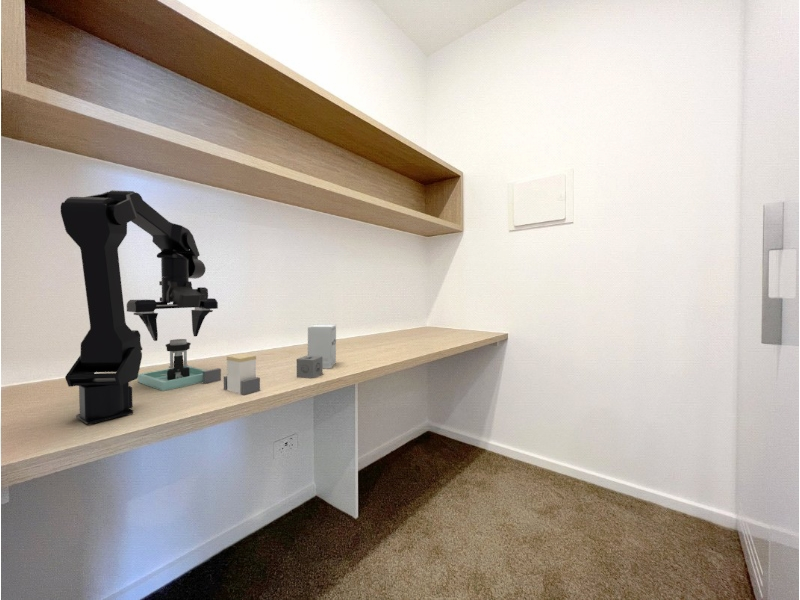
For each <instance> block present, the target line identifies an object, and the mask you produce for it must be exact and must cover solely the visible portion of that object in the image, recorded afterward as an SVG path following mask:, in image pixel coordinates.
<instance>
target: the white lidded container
mask: <svg viewBox="0 0 800 600" xmlns="http://www.w3.org/2000/svg"><path fill="white" fill-rule="evenodd" d="M256 360H257V356H256V355H253V354H248V353H237V354H233V355H227V356H226V376H227V390H226V391H228V392H230V393H234V394H237V395H238V394H239V395H242V394H241V381H243V380H247V379H251V378H256V377H257V362H256Z"/></svg>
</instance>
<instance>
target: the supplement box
mask: <svg viewBox="0 0 800 600" xmlns="http://www.w3.org/2000/svg"><path fill="white" fill-rule="evenodd" d="M307 356H322V363H323V369H326V370H329V369H332V368H333V366H335V365H336V362H337V324H313V325H309V326H308V327H307Z"/></svg>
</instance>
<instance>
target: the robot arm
mask: <svg viewBox="0 0 800 600" xmlns="http://www.w3.org/2000/svg"><path fill="white" fill-rule="evenodd" d="M60 215H61V220H62V222H63V226H64V230H65V232H66V234H67V235H68V236H69V237H70V238H71V240H73V242H74V243H75V244H76V245H77V246H78V248H79V249H80V256H81V263H82V264H81V265H82V272H83V280H84V287H85V295H86V303H87V304H86V305H87V311H88V317H89V318H88V319H89V330H88V331H87V333H86V335H85V336H84V337H83V339H82V341H81V342H80V355H79V356H78V358H77V359H76V361H75V362H74V363H73V365H72V367H70V369H69V371H68V372H67V373H66V374H65V382H66V383H67V386H68V387H78V392H79V393H78V396H79V397H78V398H79V400H78V401H79V406H78V407H79V413H78V414H76V415H75V417H76V419H78V420H79V421H81V422H83V423H84V424H86V425H93V424H96V423H100V422H105V421H108V420H112V419H115V418H120V417H124V416H127V415H132V414H134V410H133V409H132V408H133V407H134V406H133V387H132V386H130V385H129V384H130V383H131V382H132V381H135V380H138V374H140V369H141V368H140V367H141V363H142V359H143V352H142V351H143V347H142V344H141V333H140V331H139V330H137V329H136V330H132V329H131V328H130V327H129V325H127V323H126V315H125V304H124V296H123V288H122V287H123V285H122V277H121V269H120V258H119V250H118V249H119V247H120V246H121V245H122V243H123V241H124V239H125V238H126V237H127V234H128V223H130V222H132V223H133V224H134V225H135V226H137V227H138V228H140V229H141V230H143V231H145V232H146V233H147V234H149V235H150V236H152V243H153V244H154V245H155V246H156V247H157V248H158V249H159V250H160V252H158V253H157V254H156V258H158V259H160V260H161V261H160V262H161V263H160V266H161V271H160V272H161V281H158V282H159V286H161V297H159V301H156V300H155V299H129V300H128V301H127V303H126V312H128V313H129V312H130V313H133V315H134V316H138V317H139V318H140V320H141V321H142V322H143V324H144V325H145V327H146V329H147V331H148V332H149V334H150V336H151V338H152V340H153V342H157V341H158V337H159V336H158V333H159V332H158V323H157V319H158V316H159V313H158V312H155V310H162V309H163V310H164V309H166V310H167V309H185V308H187V309H188V308H194V309H191V310H190V312H191V326H192V327H191V328H192V330H191V331H192V334H193V337H197V336H198V334H199V332H200V329H201V327H202V325H203V323H204V320H205V318H206V317H207V316H208V315H209V314H210V313H213V312H214V309H219V303H218V301H217V299H216V298H211V297H210V298H209V290H208V288H206V287H205V286H204V287H201V286H199V287H197V288H193V285H192V281H190V279H193V280H194V279H199V278H202V277H203V276H204V274H205V273H206V269H207V268H206V266H205V264H204V262H203V261H202V260H201V259H199V257H200V252H199V248H198V246H197V243H196V240H195V238H194V234H193V233H191V230H190V229H188V228H186V227H185V226H184V225H180V224H178V223H177V224H176V223H173V222H171V221H169V220H168V219H167V218H165V216H163V215H162V214H160V213H159V212H158V211H157V210H156V209H154V207H152V206H150V205H149V204H148V203H147V202H146V201H145V200H144V199H143V197H142V195H141V194H140V193H138V192H136V191H134V190H114V189H113V190H110V191H106V192H104V193H103V192H102V193H99V194H93V195H89V196H70V197H68V198H66V199H65V200H64V202H61V204H60Z"/></svg>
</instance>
